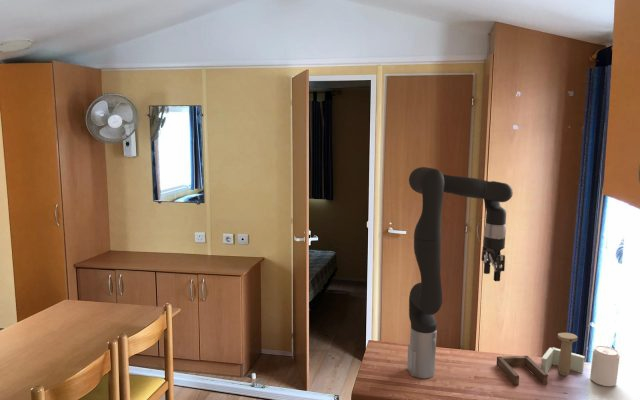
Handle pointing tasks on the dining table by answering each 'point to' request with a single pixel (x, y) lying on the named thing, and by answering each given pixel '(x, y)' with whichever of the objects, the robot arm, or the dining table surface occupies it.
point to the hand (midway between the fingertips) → (491, 277)
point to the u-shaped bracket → (515, 361)
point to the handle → (565, 352)
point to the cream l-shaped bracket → (553, 358)
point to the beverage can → (604, 366)
